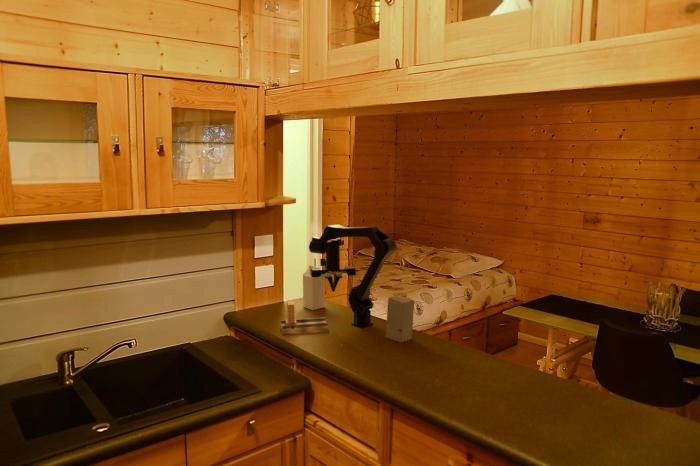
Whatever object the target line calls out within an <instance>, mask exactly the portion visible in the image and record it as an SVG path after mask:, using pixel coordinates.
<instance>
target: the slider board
mask: <svg viewBox="0 0 700 466" xmlns="http://www.w3.org/2000/svg"><path fill="white" fill-rule="evenodd" d="M295 319H296V323H297V324H293V325H286V321H285V320H286V319H280V328H281V332H282V335H297V334H309V333H322V332H323V333H324V332H325V333H327V332H329V323H328V322H327V321H326V317H310V318H307V317H306V318H295Z"/></svg>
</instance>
